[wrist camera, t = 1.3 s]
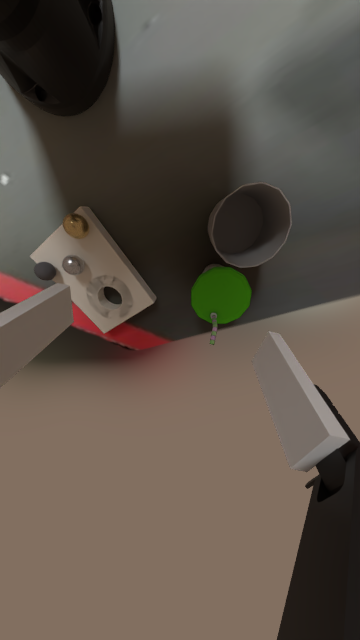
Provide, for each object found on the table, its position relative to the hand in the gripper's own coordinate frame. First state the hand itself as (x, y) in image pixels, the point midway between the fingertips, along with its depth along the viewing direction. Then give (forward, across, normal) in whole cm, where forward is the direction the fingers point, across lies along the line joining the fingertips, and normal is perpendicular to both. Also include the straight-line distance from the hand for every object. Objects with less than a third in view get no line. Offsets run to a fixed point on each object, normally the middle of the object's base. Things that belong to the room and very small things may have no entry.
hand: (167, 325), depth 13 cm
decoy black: (+18, -22, -7) cm, 30 cm away
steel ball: (+18, -17, -5) cm, 26 cm away
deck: (+22, -15, -7) cm, 28 cm away
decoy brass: (+18, -16, +1) cm, 25 cm away
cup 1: (+23, +6, +6) cm, 24 cm away
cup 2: (+23, +6, -2) cm, 23 cm away
